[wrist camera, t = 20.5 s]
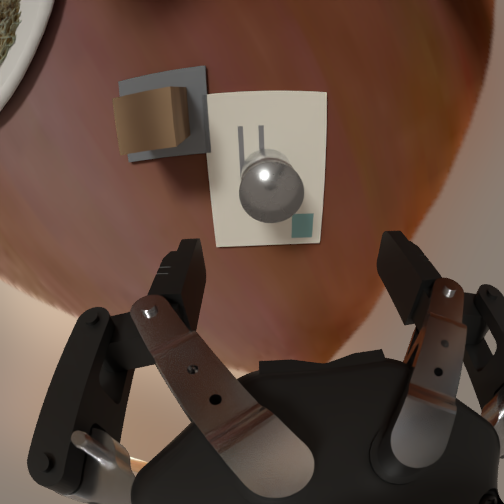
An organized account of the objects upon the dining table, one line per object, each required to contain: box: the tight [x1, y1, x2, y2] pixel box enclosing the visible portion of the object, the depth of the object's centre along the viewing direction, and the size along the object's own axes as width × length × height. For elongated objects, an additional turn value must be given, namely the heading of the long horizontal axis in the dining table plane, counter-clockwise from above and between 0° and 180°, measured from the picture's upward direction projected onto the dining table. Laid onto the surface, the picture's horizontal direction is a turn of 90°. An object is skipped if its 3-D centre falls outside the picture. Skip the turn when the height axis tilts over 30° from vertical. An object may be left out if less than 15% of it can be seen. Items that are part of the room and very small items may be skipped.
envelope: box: [202, 91, 327, 247], centre depth 28 cm, size 12×17×1 cm
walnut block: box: [112, 86, 190, 155], centre depth 22 cm, size 5×5×6 cm
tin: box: [239, 149, 304, 223], centre depth 25 cm, size 5×5×6 cm
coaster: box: [119, 66, 211, 162], centre depth 25 cm, size 9×9×1 cm
